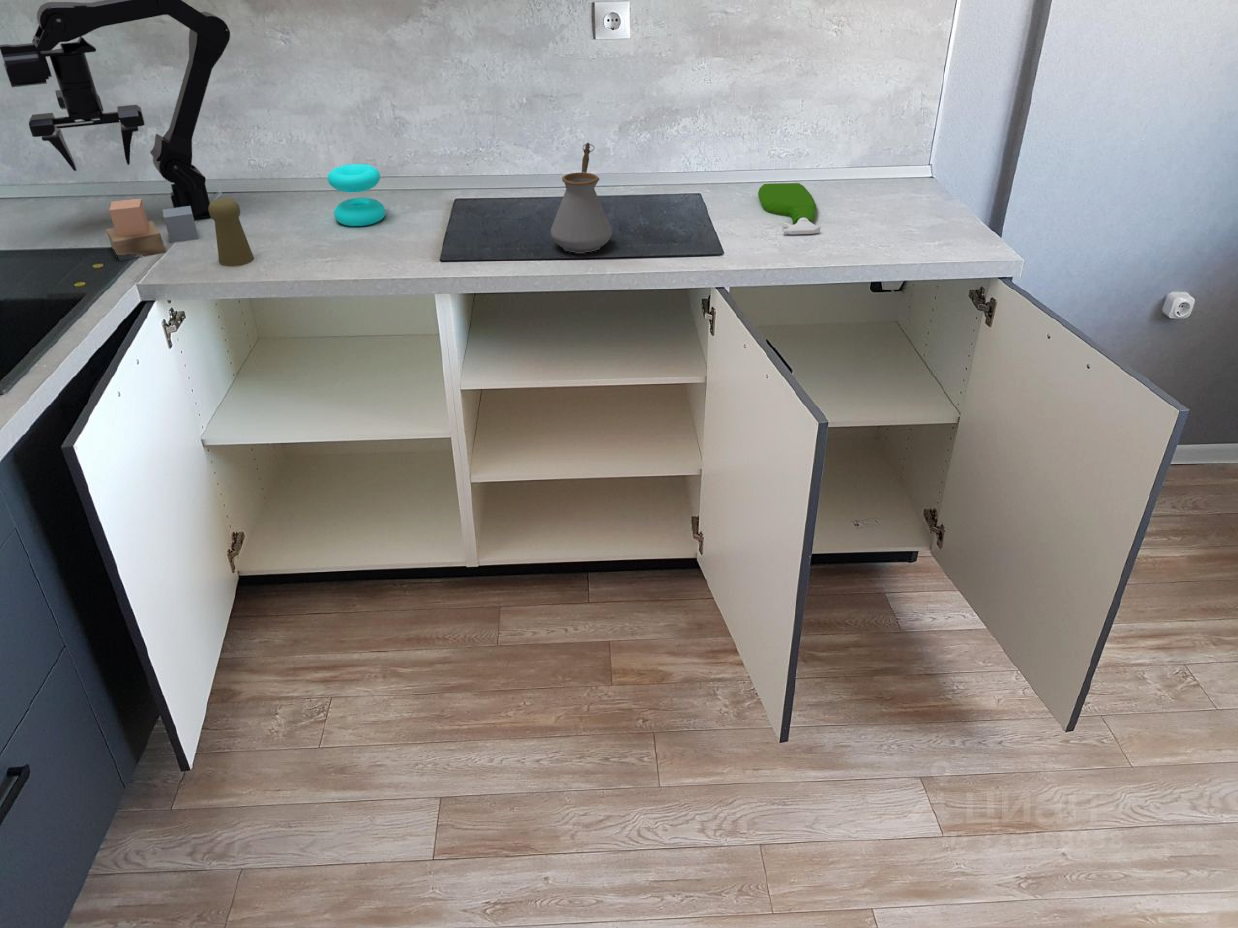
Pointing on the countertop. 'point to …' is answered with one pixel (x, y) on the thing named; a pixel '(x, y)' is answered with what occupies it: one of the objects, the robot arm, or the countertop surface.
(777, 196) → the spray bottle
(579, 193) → the coffee pot
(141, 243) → the walnut base block
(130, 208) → the terracotta cube
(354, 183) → the donuts
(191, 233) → the slate grey cube
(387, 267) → the countertop surface
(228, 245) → the olive pawn
